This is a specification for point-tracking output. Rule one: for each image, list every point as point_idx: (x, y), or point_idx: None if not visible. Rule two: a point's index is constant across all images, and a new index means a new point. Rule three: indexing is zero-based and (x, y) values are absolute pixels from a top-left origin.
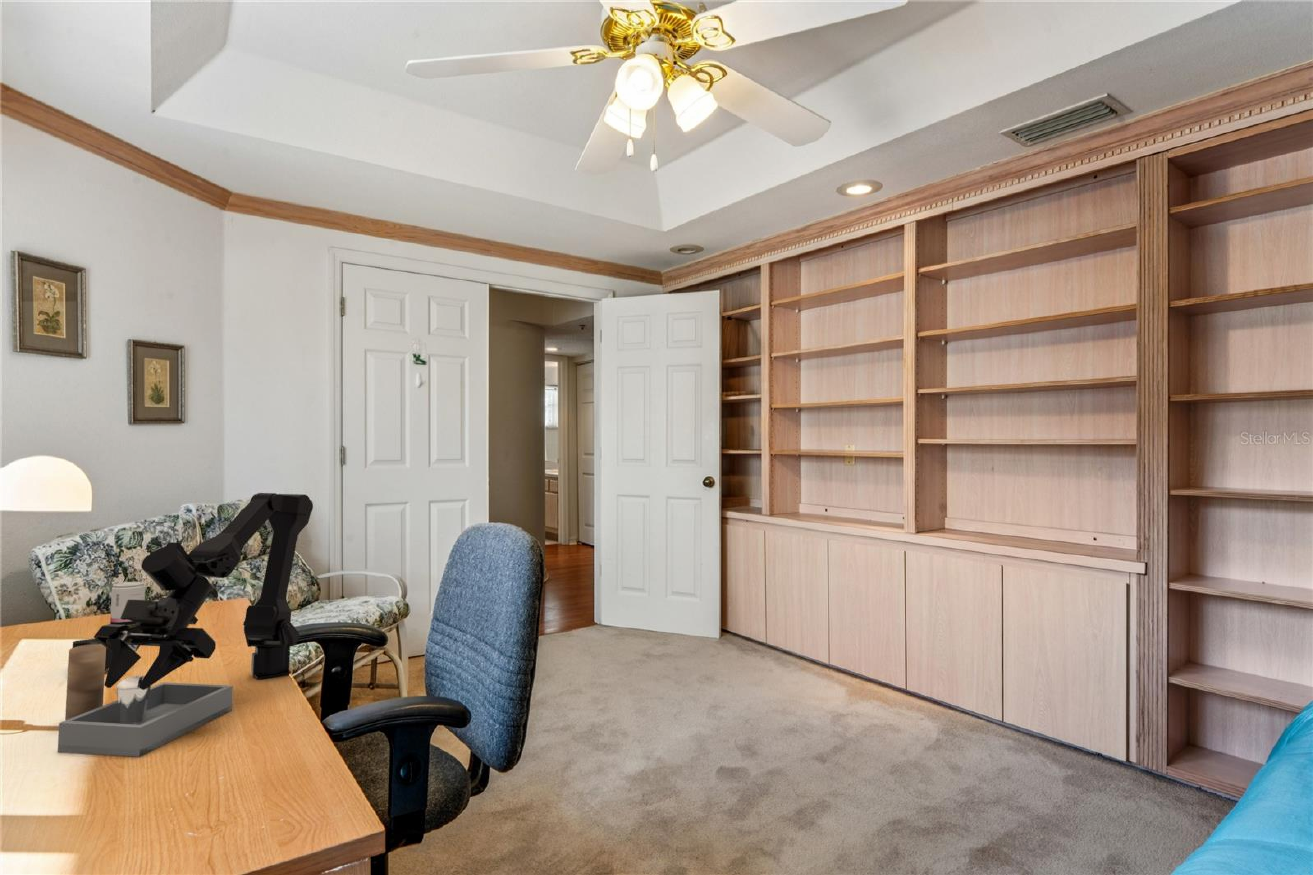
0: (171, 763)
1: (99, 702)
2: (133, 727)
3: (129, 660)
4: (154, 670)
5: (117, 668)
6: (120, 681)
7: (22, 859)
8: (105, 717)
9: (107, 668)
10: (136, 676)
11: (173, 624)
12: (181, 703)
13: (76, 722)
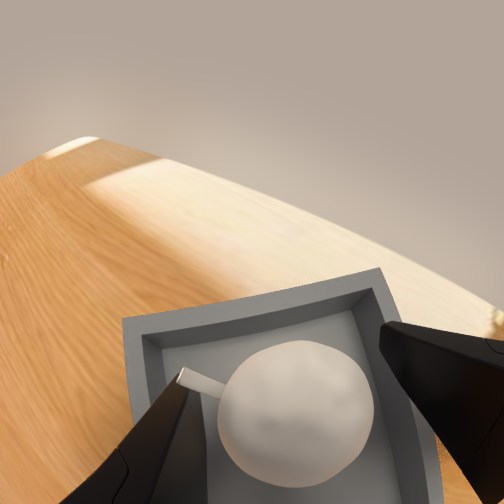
0: (69, 330)
1: None
2: (144, 315)
3: (484, 450)
4: (131, 435)
5: (445, 372)
6: (350, 366)
7: (82, 139)
8: (392, 396)
9: None
10: (330, 441)
11: None
12: None
13: (344, 284)
